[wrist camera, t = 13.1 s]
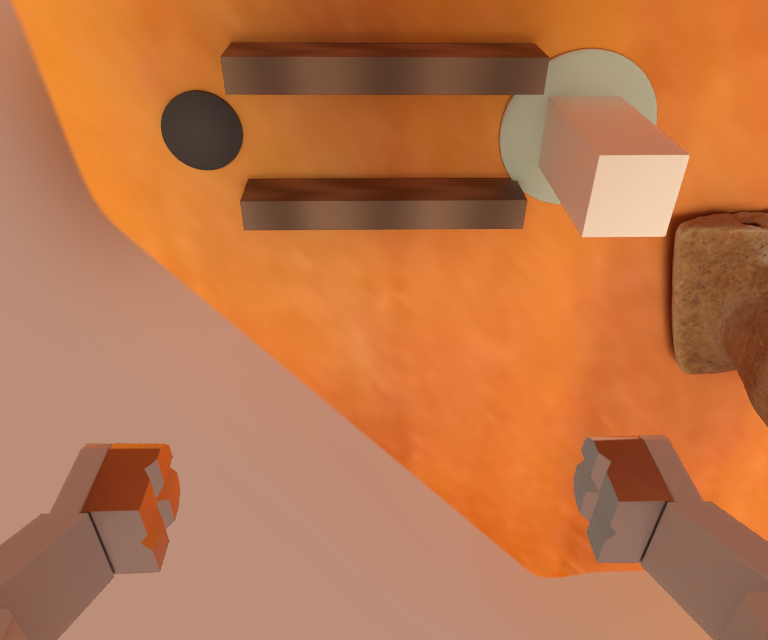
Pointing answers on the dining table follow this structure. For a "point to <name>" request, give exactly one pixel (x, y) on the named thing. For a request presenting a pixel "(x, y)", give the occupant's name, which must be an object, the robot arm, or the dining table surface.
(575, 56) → the mat
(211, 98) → the pit disc
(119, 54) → the dining table surface
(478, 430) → the dining table surface
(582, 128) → the block
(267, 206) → the track
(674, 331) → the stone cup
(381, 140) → the dining table surface
